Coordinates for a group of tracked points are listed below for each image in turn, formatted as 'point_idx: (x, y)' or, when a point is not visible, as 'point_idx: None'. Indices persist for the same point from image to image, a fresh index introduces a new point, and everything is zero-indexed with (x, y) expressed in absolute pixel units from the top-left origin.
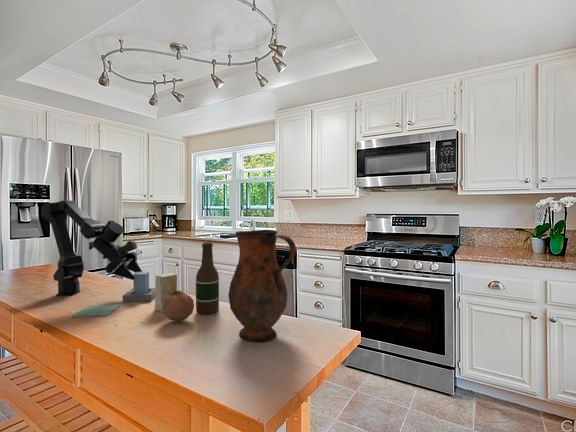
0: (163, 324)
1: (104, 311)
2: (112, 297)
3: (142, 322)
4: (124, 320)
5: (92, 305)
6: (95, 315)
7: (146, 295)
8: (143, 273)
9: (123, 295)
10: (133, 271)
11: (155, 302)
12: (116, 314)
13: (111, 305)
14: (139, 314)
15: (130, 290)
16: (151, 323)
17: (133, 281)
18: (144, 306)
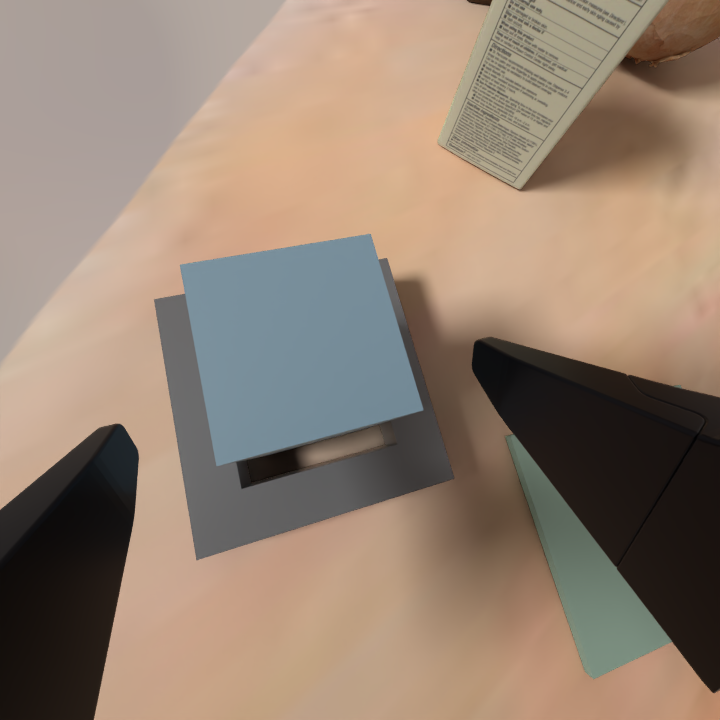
0: (662, 91)
1: None
2: (321, 677)
3: (675, 175)
4: (686, 262)
5: (586, 637)
6: None
7: (396, 294)
8: (335, 282)
9: (447, 474)
10: (111, 621)
11: (546, 156)
12: (638, 353)
13: (548, 482)
14: (600, 235)
15: (276, 525)
16: (671, 136)
17: (393, 419)
18: (482, 273)
